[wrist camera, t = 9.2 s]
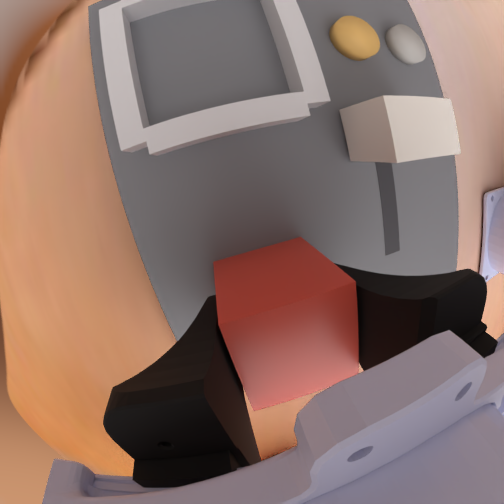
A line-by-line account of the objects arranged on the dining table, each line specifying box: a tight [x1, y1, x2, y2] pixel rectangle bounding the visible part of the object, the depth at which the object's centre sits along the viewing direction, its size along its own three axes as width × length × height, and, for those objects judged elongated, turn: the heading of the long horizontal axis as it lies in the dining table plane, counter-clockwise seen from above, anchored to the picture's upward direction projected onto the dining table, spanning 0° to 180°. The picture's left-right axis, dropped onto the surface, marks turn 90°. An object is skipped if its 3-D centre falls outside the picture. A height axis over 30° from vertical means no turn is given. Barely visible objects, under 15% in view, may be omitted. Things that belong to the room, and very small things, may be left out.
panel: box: [88, 0, 458, 341], centre depth 11 cm, size 18×20×3 cm
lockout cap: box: [213, 237, 359, 411], centre depth 10 cm, size 4×4×5 cm
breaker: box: [339, 95, 461, 163], centre depth 9 cm, size 4×2×3 cm, turn 104°
